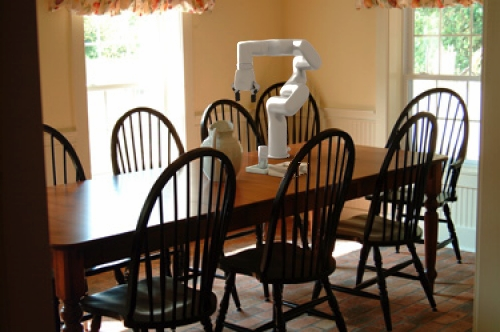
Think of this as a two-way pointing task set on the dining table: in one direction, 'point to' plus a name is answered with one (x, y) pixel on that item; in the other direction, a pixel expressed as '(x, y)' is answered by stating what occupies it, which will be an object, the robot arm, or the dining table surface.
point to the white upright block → (263, 157)
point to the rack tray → (257, 169)
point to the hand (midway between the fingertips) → (245, 101)
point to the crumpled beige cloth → (282, 167)
